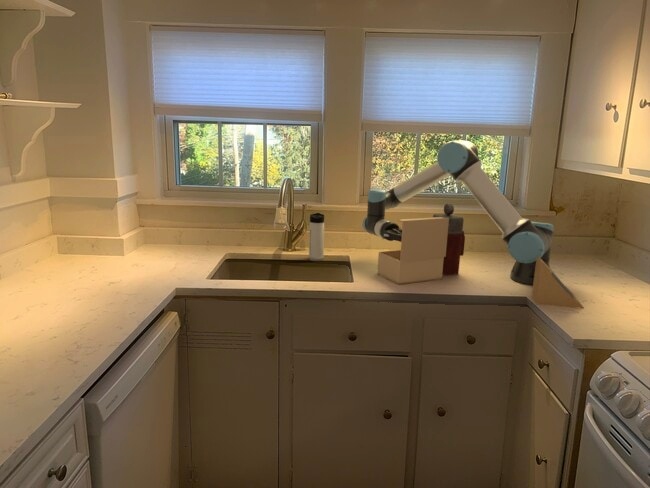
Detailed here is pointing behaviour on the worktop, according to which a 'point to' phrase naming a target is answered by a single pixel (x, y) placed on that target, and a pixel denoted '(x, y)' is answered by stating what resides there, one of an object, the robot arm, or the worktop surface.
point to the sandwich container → (551, 288)
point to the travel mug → (316, 237)
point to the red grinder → (453, 241)
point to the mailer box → (408, 268)
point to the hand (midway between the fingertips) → (421, 242)
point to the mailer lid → (424, 238)
